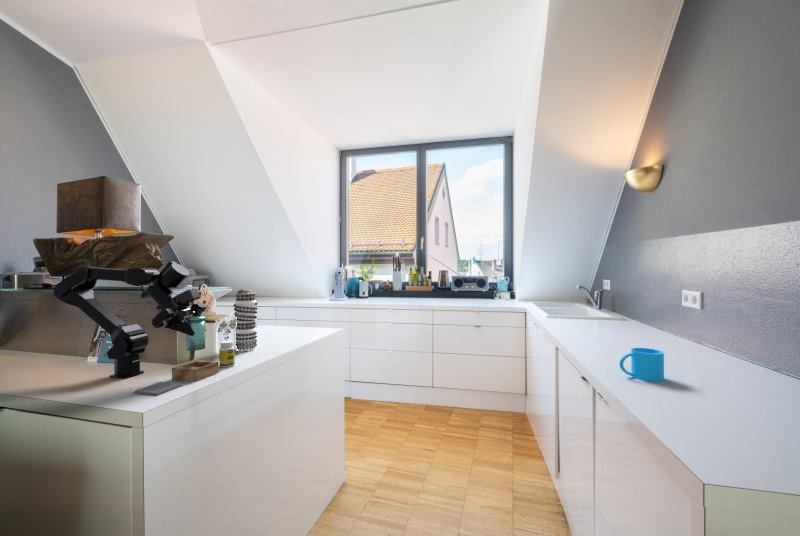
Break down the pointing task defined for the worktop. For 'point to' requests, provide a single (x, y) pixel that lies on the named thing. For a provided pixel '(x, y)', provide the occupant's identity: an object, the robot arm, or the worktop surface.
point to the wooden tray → (195, 370)
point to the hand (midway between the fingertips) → (199, 333)
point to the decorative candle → (245, 319)
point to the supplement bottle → (226, 354)
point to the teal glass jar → (196, 333)
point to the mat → (158, 388)
